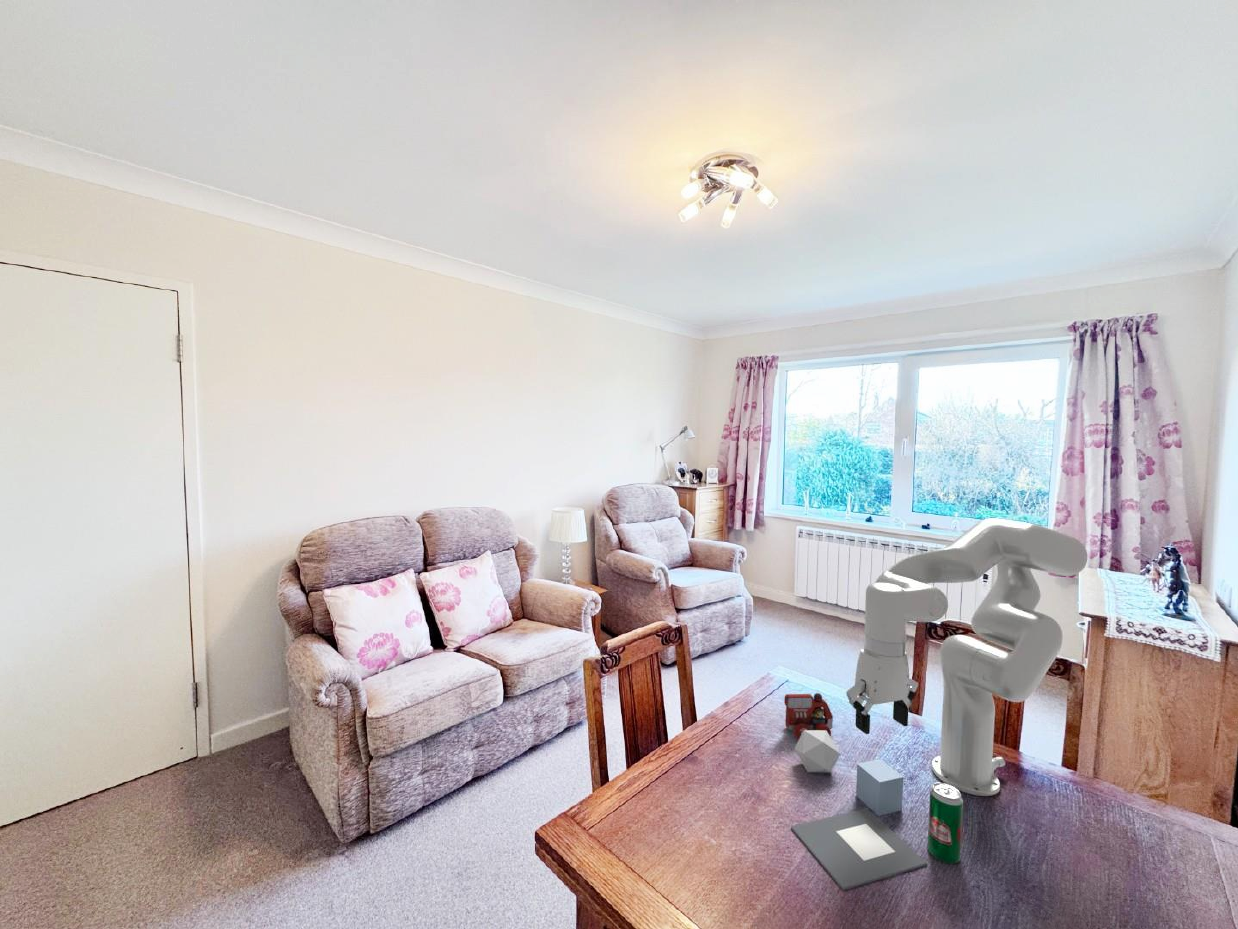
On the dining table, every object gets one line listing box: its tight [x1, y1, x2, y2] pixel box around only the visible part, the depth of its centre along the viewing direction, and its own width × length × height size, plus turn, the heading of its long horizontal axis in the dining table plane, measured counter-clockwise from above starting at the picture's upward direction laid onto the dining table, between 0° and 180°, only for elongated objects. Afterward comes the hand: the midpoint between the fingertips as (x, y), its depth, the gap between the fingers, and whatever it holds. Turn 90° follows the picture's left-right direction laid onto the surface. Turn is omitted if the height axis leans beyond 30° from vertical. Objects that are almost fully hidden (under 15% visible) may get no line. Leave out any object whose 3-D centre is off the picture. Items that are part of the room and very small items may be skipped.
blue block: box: [855, 758, 904, 817], centre depth 105 cm, size 6×6×7 cm
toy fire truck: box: [784, 692, 834, 741], centre depth 129 cm, size 7×12×10 cm, turn 94°
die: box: [794, 730, 841, 773], centre depth 116 cm, size 8×9×10 cm
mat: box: [790, 807, 928, 891], centre depth 94 cm, size 18×14×1 cm
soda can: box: [926, 782, 964, 864], centre depth 92 cm, size 5×5×12 cm
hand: (881, 726), depth 104 cm, fingers open, 9 cm apart
